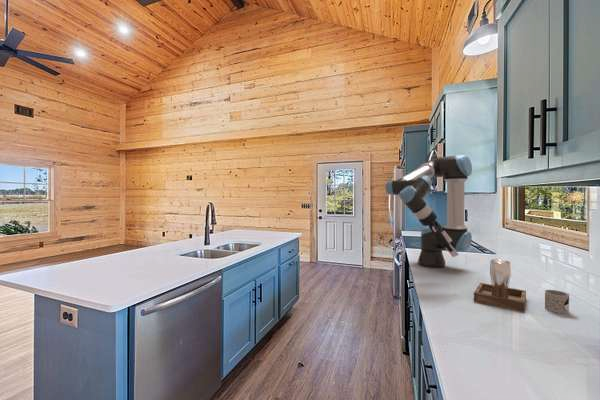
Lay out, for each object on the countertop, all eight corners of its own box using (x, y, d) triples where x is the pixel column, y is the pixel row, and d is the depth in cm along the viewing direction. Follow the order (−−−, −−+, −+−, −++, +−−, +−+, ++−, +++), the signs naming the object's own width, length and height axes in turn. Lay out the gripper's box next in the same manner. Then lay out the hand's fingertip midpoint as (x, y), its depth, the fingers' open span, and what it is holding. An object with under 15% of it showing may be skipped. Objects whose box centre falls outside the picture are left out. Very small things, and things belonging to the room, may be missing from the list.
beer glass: (514, 300, 111) (515, 263, 111) (497, 301, 111) (497, 263, 111) (502, 294, 118) (502, 259, 118) (485, 294, 118) (486, 259, 118)
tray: (480, 290, 126) (480, 282, 126) (525, 299, 115) (526, 290, 115) (473, 301, 114) (473, 292, 114) (524, 311, 103) (524, 302, 103)
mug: (570, 316, 100) (570, 297, 100) (545, 311, 104) (545, 293, 104) (566, 306, 108) (566, 289, 108) (543, 302, 112) (543, 286, 112)
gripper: (415, 209, 145) (441, 240, 146) (420, 230, 122) (450, 266, 123) (428, 201, 141) (454, 233, 143) (436, 220, 119) (466, 258, 120)
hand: (452, 248), depth 133 cm, fingers open, 13 cm apart
